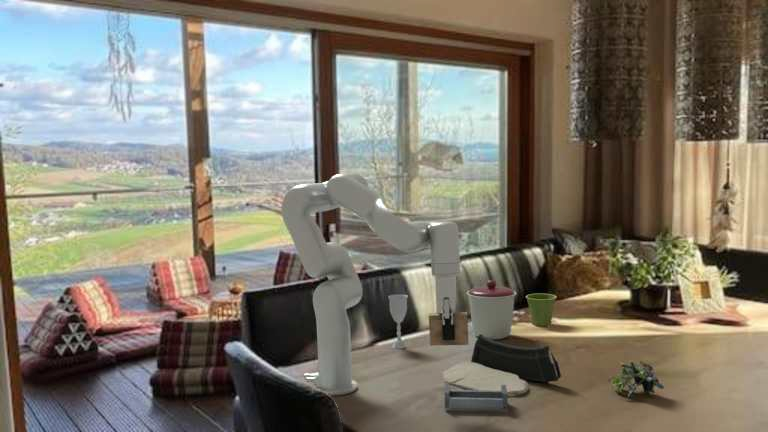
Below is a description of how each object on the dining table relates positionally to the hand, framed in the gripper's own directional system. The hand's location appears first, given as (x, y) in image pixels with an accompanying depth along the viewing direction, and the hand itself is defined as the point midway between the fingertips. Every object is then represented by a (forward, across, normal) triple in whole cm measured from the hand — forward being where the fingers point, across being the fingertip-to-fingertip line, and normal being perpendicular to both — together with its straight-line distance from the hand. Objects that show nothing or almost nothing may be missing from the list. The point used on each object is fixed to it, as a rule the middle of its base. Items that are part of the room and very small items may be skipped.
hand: (449, 337), depth 173 cm
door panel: (+2, 0, 0) cm, 2 cm away
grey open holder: (+19, +1, +6) cm, 19 cm away
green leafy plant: (+20, -11, +49) cm, 54 cm away
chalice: (+17, -56, -20) cm, 62 cm away
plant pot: (+19, -90, +32) cm, 98 cm away
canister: (+18, -71, +12) cm, 75 cm away
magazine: (+19, -26, +18) cm, 36 cm away
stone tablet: (+19, -19, +8) cm, 28 cm away
